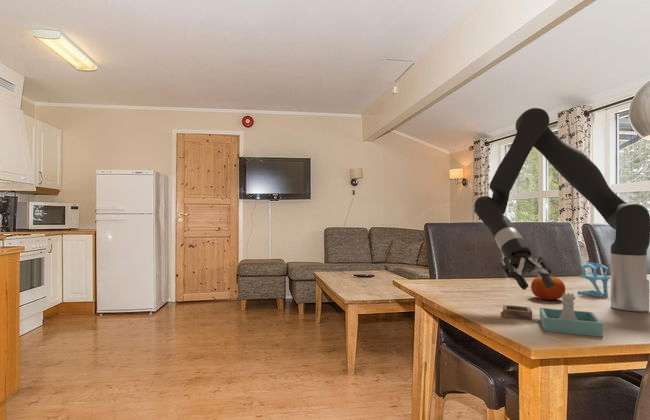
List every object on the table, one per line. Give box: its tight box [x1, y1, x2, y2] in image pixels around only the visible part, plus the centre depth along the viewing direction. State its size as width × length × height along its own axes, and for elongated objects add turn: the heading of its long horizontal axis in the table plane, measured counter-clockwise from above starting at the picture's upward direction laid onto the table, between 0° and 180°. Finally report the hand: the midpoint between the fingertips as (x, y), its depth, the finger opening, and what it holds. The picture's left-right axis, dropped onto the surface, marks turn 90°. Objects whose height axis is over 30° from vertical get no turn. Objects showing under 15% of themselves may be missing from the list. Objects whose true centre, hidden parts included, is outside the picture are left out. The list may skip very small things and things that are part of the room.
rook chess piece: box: [559, 292, 578, 320], centre depth 108 cm, size 4×4×8 cm
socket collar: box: [502, 304, 533, 320], centre depth 121 cm, size 8×8×2 cm
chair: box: [576, 261, 611, 298], centre depth 152 cm, size 8×8×12 cm
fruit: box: [530, 275, 566, 301], centre depth 144 cm, size 11×10×8 cm
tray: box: [539, 307, 604, 338], centre depth 108 cm, size 13×13×3 cm
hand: (538, 287), depth 119 cm, fingers open, 8 cm apart
